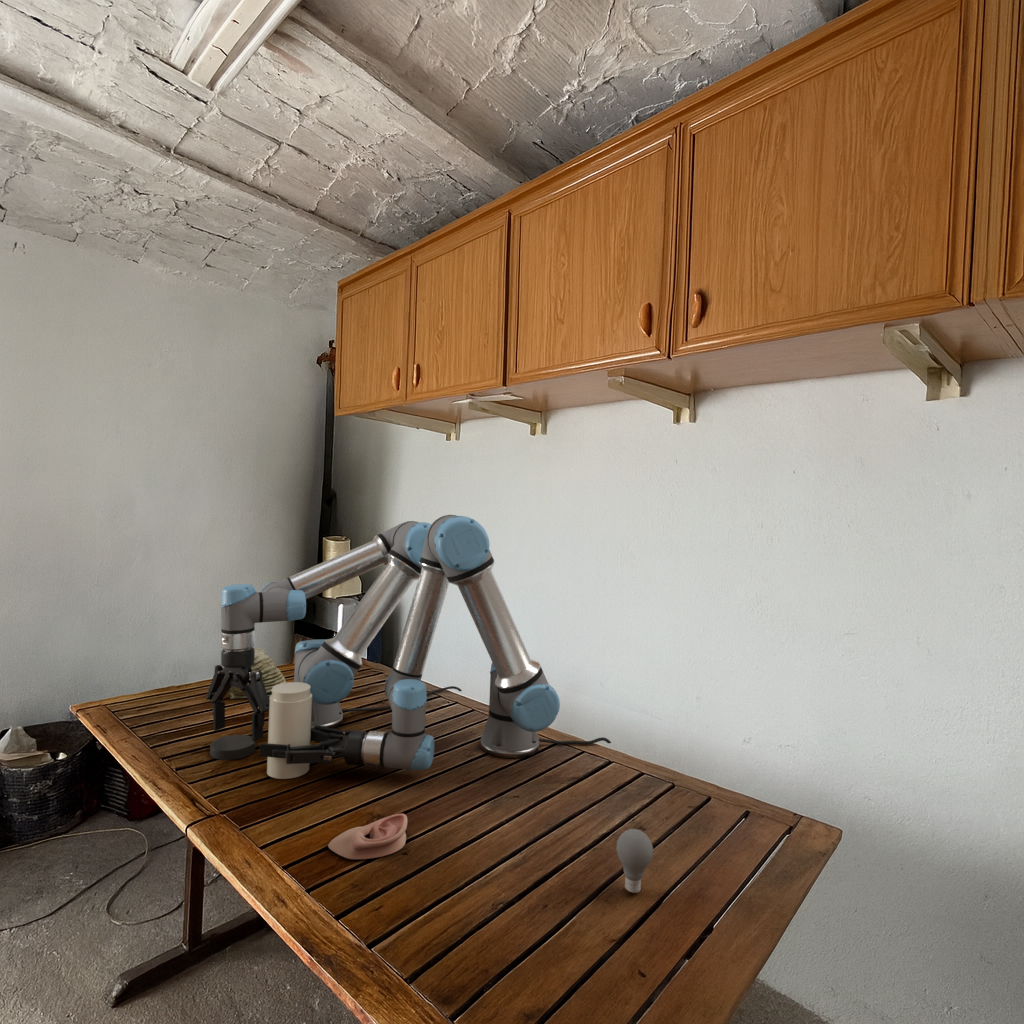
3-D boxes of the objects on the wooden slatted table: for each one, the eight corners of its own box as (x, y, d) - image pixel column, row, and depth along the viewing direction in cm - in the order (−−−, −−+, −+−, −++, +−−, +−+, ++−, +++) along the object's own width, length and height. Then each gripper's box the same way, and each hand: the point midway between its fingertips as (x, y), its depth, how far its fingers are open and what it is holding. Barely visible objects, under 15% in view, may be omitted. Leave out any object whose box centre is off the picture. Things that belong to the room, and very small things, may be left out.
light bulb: (610, 879, 108) (613, 822, 108) (644, 879, 109) (647, 822, 109) (619, 902, 102) (622, 840, 102) (655, 901, 103) (658, 840, 103)
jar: (262, 766, 147) (266, 684, 147) (303, 759, 152) (306, 679, 152) (271, 782, 139) (274, 695, 139) (314, 774, 144) (317, 690, 144)
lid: (228, 763, 148) (228, 754, 148) (201, 753, 153) (201, 744, 153) (264, 749, 157) (264, 740, 157) (237, 740, 162) (237, 731, 162)
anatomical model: (320, 832, 112) (349, 802, 123) (319, 854, 112) (349, 822, 123) (391, 843, 109) (414, 812, 121) (390, 866, 109) (413, 832, 121)
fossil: (218, 695, 195) (220, 647, 195) (278, 685, 208) (279, 640, 207) (228, 703, 189) (230, 653, 188) (289, 692, 201) (290, 645, 201)
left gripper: (190, 645, 157) (190, 729, 158) (261, 658, 146) (261, 749, 146) (216, 639, 164) (216, 720, 164) (287, 651, 152) (286, 738, 153)
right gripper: (348, 786, 133) (246, 777, 135) (378, 746, 155) (290, 739, 157) (350, 750, 133) (247, 743, 135) (380, 715, 155) (291, 709, 157)
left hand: (237, 734), depth 155 cm, fingers open, 13 cm apart
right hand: (270, 741), depth 146 cm, fingers closed on jar, 9 cm apart
